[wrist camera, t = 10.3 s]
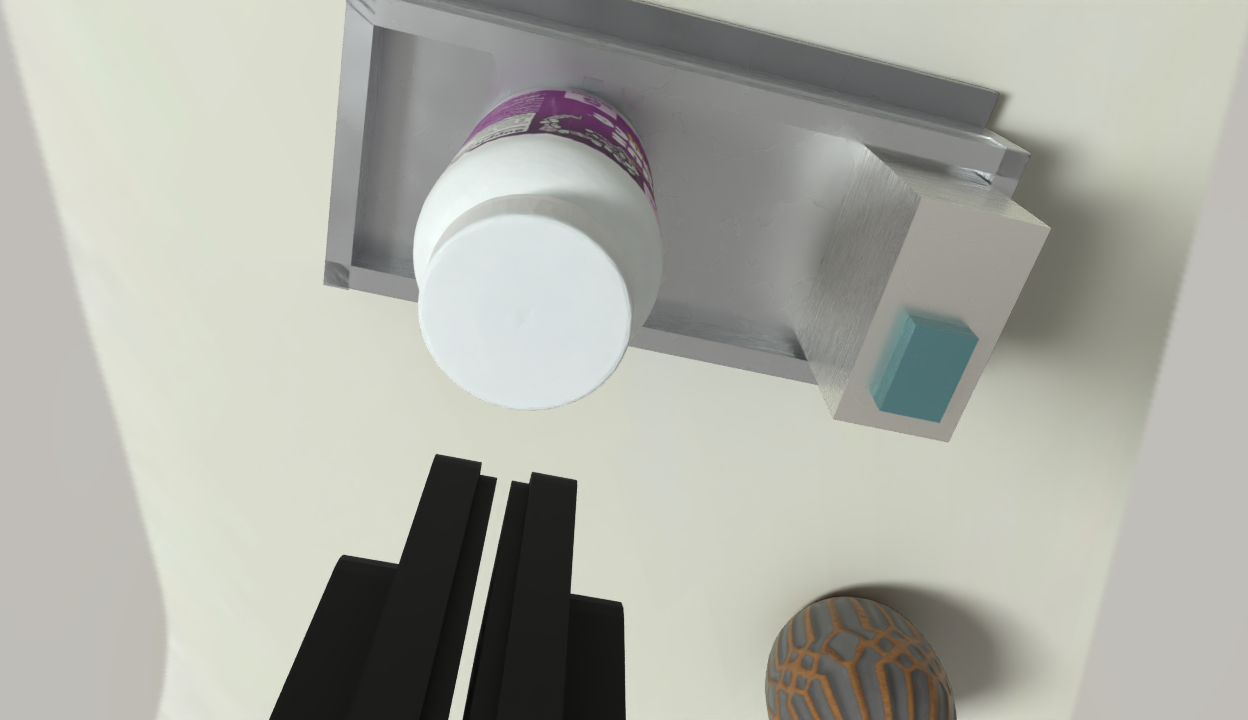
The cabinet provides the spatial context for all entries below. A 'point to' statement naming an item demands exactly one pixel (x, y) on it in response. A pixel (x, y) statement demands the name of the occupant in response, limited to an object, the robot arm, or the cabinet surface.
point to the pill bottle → (539, 250)
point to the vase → (855, 666)
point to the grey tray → (720, 187)
